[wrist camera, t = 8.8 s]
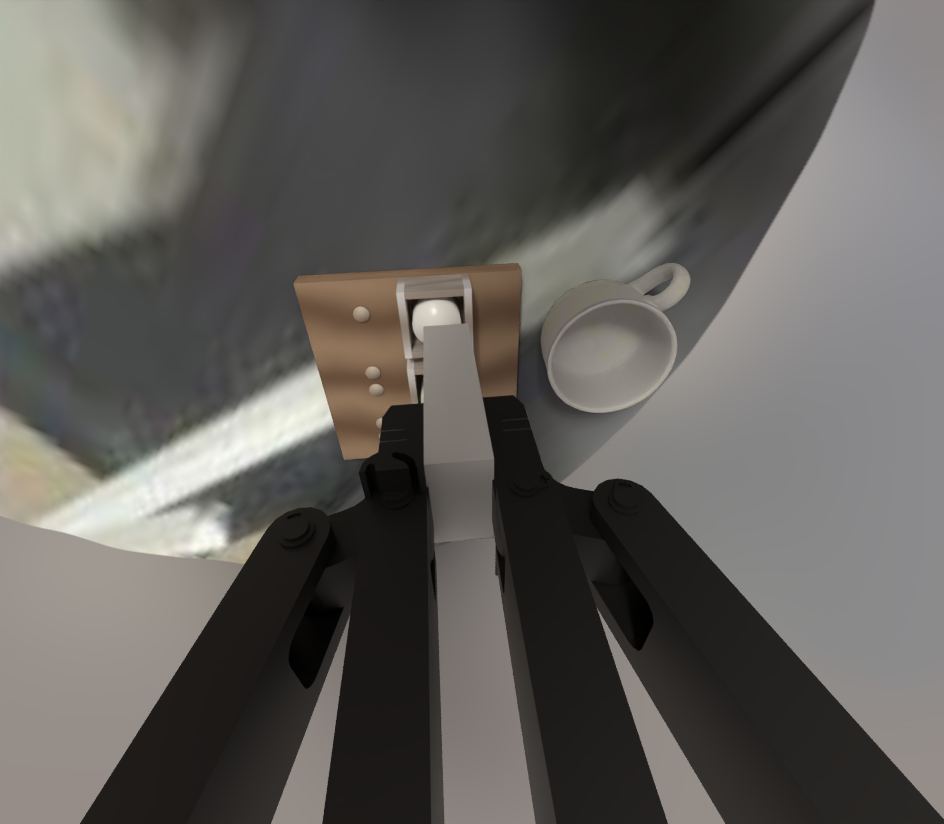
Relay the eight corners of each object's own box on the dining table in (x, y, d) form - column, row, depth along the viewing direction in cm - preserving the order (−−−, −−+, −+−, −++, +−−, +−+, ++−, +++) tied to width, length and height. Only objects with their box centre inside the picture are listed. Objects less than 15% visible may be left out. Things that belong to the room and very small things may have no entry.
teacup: (572, 386, 46) (596, 433, 40) (507, 323, 41) (522, 366, 35) (688, 297, 41) (736, 335, 35) (630, 212, 36) (675, 239, 30)
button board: (298, 275, 37) (283, 298, 33) (517, 263, 38) (529, 283, 34) (346, 448, 49) (339, 480, 45) (511, 435, 50) (519, 465, 46)
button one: (410, 289, 36) (409, 303, 34) (457, 286, 36) (460, 300, 34) (415, 332, 39) (415, 348, 36) (459, 329, 39) (462, 345, 36)
